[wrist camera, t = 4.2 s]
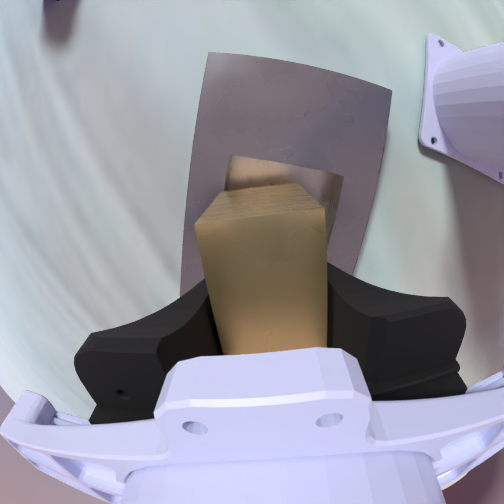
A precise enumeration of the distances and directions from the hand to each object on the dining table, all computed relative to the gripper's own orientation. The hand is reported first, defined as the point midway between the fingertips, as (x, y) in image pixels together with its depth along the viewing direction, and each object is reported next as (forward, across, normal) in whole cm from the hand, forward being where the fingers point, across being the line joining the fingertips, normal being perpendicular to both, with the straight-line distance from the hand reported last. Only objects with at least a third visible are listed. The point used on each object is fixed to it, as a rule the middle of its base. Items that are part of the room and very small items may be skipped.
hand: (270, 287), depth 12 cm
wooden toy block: (+2, 0, 0) cm, 2 cm away
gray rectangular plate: (+5, 0, 0) cm, 5 cm away
